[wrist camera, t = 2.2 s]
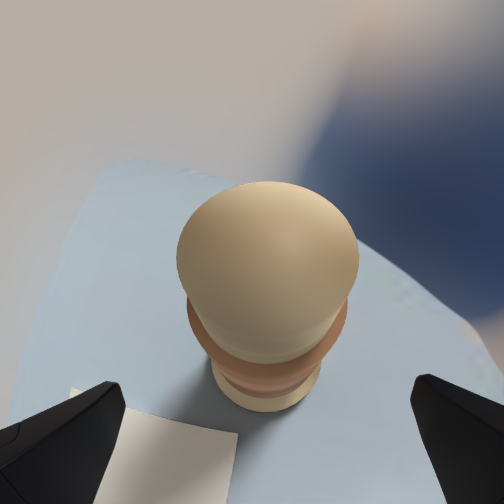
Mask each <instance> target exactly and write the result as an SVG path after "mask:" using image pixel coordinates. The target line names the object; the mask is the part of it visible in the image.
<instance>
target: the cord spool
mask: <svg viewBox="0 0 504 504" xmlns="http://www.w3.org/2000/svg"><path fill="white" fill-rule="evenodd" d="M176 260H177V270H178V274H179V278H180V281H181V283H182V286H183V288H184V290H185V292H186V294H187V313H188V318H189V322H190V325H191V328H192V330H193V333H194V334H195V336H196V338H197V340H198V341H199V343H200V344H201V346H202V347H203V349H204V350H205V351H206V353H207V354H208V356H209V357H210V359H211V365H212V371H213V375H214V378H215V380H216V382H217V384H218V386H219V387H220V389H221V390H222V391H223V392H224V394H225V395H226V396H227V397H228V398H230V399H231V400H232V401H233V402H235V403H236V404H238V405H239V406H241V407H243V408H246V409H249V410H252V411H257V412H275V411H280V410H283V409H286V408H288V407H290V406H292V405H294V404H295V403H297V402H298V401H300V400H301V399H302V398H303V397H304V396H305V395H307V393H308V392H309V391H310V390H311V389H312V387H313V385H314V384H315V382H316V380H317V378H318V375H319V372H320V367H321V360H322V359H323V358H324V356H325V355H326V354H327V352H328V351H329V350H330V348H331V347H332V346H333V344H334V343H335V342H336V340H337V338H338V336H339V335H340V333H341V331H342V328H343V326H344V323H345V319H346V314H347V304H348V303H347V296H348V295H349V293H350V291H351V289H352V287H353V285H354V282H355V279H356V276H357V272H358V266H359V252H358V245H357V241H356V238H355V235H354V233H353V230H352V228H351V226H350V225H349V223H348V221H347V220H346V218H345V217H344V216H343V215H342V214H341V212H340V211H339V210H338V209H337V208H336V207H335V206H334V205H333V204H332V203H330V202H328V200H326V199H325V198H323V197H322V196H320V195H318V194H317V193H315V192H312V191H310V190H308V189H306V188H302V187H300V186H297V185H293V184H288V183H282V182H267V181H266V182H253V183H247V184H243V185H239V186H235V187H232V188H230V189H227V190H225V191H223V192H221V193H219V194H217V195H215V196H214V197H212V198H210V199H209V200H208V201H206V202H205V203H204V204H202V205H201V206H200V207H199V208H198V209H197V210H196V211H195V212H194V213H193V215H192V216H191V217H190V219H189V220H188V222H187V223H186V225H185V227H184V228H183V231H182V233H181V235H180V238H179V242H178V246H177V255H176Z"/></svg>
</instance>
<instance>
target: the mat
mask: <svg viewBox="0 0 504 504" xmlns="http://www.w3.org/2000/svg"><path fill="white" fill-rule="evenodd" d="M81 393H83V391H80V390H78V389H75V388H71V392H70V396H69V399H70V398H73V397H75V396H77V395H79V394H81ZM238 435H239V434H238V433H232V432H226V431H220V430H215V429H210V428H205V427H200V426H195V425H191V424H186V423H182V422H178V421H173V420H169V419H166V418H162V417H158V416H154V415H151V414H147V413H144V412H140V411H137V410H134V409H131V408H128V407H126V408H125V413H124V416H123V420H122V423H121V427H120V431H119V434H118V438H117V442H116V445H115V448H114V451H113V454H112V456H111V459H110V461H109V463H108V466H107V469H106V471H105V474H104V476H103V479H102V481H101V484H100V486H99V489H98V492H97V494H96V497H95V500H94V502H93V504H227V499H228V493H229V487H230V482H231V476H232V470H233V464H234V459H235V453H236V447H237V441H238Z"/></svg>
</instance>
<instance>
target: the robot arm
mask: <svg viewBox="0 0 504 504" xmlns="http://www.w3.org/2000/svg"><path fill="white" fill-rule="evenodd" d="M410 402H411V406H412V409H413V412H414V415H415V419H416V422H417V425H418V428H419V432H420V435H421V438H422V441H423V444H424V446H425V449H426V451H427V453H428V456H429V458H430V461H431V463H432V465H433V468H434V470H435V473H436V475H437V478H438V481H439V483H440V486H441V488H442V491H443V494H444V496H445V499H446V502H447V504H504V405H501V404H499V403H497V402H494V401H492V400H489V399H487V398H485V397H482V396H480V395H477V394H475V393H473V392H470V391H468V390H466V389H463V388H461V387H459V386H456V385H454V384H452V383H449V382H447V381H445V380H443V379H440V378H438V377H436V376H434V375H431V374H424V375H419V376H418V377H417V378H416V380H415V383H414V387H413V390H412V393H411V398H410ZM125 408H126V405H125V401H124V397H123V394H122V391H121V388H120V385H119V384H118V383H116V382H110V381H105V382H103V383H101V384H99V385H97V386H95V387H93V388H91V389H89V390H87V391H85V392H83V393H81V394H79V395H77V396H75V397H73V398H70V399H68V400H66V401H64V402H62V403H60V404H58V405H56V406H53V407H51V408H49V409H47V410H45V411H43V412H41V413H38V414H36V415H34V416H32V417H29V418H27V419H25V420H23V421H21V422H18V423H16V424H14V425H11V426H9V427H6V428H4V429H1V430H0V504H93V502H94V500H95V497H96V494H97V492H98V489H99V486H100V484H101V481H102V479H103V476H104V474H105V471H106V469H107V466H108V463H109V461H110V459H111V456H112V454H113V451H114V448H115V445H116V442H117V438H118V434H119V431H120V427H121V423H122V420H123V416H124V413H125Z"/></svg>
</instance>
